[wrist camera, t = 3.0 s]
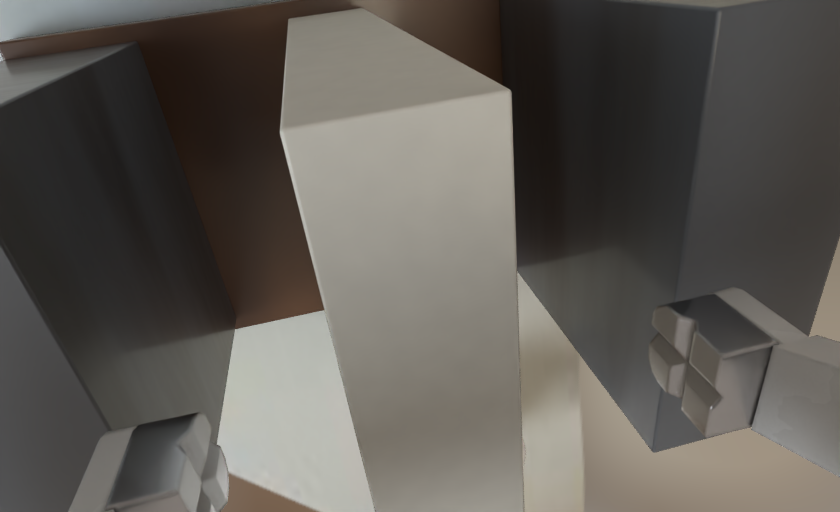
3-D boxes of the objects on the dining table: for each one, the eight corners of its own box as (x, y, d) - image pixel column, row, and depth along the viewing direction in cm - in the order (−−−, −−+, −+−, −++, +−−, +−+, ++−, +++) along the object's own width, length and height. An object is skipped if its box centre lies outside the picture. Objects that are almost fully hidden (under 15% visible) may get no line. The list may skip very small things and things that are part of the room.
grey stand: (147, 335, 23) (29, 637, 13) (9, 39, 17) (-432, 148, 7) (581, 243, 25) (780, 431, 15) (592, -44, 19) (934, -58, 9)
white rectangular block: (349, 295, 23) (412, 659, 11) (287, 18, 17) (278, 129, 5) (405, 283, 23) (528, 623, 11) (362, 7, 18) (512, 88, 6)
